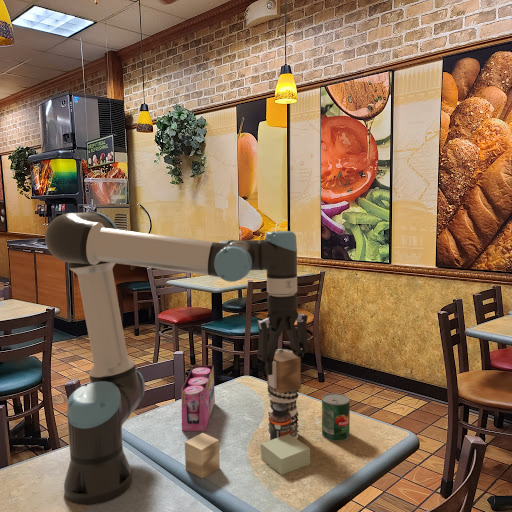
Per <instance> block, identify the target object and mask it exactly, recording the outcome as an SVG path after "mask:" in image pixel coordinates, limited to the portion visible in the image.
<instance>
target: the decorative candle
mask: <svg viewBox="0 0 512 512" xmlns="http://www.w3.org/2000/svg"><path fill="white" fill-rule="evenodd" d="M286 351H288V352H290V353H292V354H294V353H293V351H292V349H287V348H278V349H277V348H276V352H275V354H276V353H281V352H286ZM266 378H267V379H266V380H267V383H266V384H267V392H268V394H267V395H268V399H269V411H268V414H267V415H268V424H267V425H268V430H267V431H268V436H269V438H270V414H271V412H273V406H274V405H275V404H277V403H283V404H286V405H287V407H288V412H289V413H290V414H291V426H292V428H291V429H292V431H291V432H292V436H293V437H294V438H296V439H297V440H298V438H299V434H298V433H299V432H300V431H299V423H298V421H299V418H298V416H299V413H298V412H299V411H298V406H297V400H298V398H299V393H298V392H299V390H300V389H297V390H293V391H289V392H285V393H281V394H280V393H278V392H277V391H275V390H274V389H272V388H271V387H269V386H268V374H266Z"/></svg>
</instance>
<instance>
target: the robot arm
mask: <svg viewBox="0 0 512 512" xmlns="http://www.w3.org/2000/svg"><path fill="white" fill-rule="evenodd" d="M44 241H45V245H46V248H47V250H48V251H49V253H50V254H51V255H52V256H53V257H54V258H55V259H58V260H59V261H62V262H64V263H68V266H69V267H68V268H69V270H70V271H71V272H73V273H75V274H76V275H77V280H78V281H77V282H78V286H79V290H80V296H81V302H82V307H83V313H84V318H85V324H86V328H87V330H86V331H87V334H88V339H89V345H90V350H91V355H92V362H93V366H92V367H91V369H90V370H89V373H88V375H89V380H90V381H89V383H86V385H82V386H79V387H78V388H77V389H75V390H74V391H72V393H71V394H70V395H69V397H68V399H67V409H66V418H67V427H68V429H67V430H68V441H69V452H70V453H69V454H70V455H69V456H70V459H69V464H68V467H67V468H68V469H67V471H66V476H65V479H64V484H63V488H64V497H65V499H67V501H69V502H70V503H72V504H75V505H81V506H93V505H99V504H103V503H108V502H110V501H113V500H115V499H116V498H119V497H120V496H122V495H123V494H125V493H126V492H127V491H128V490H129V488H130V487H131V485H132V481H133V477H132V476H133V475H132V474H133V473H132V472H133V471H132V469H131V465H130V464H129V461H128V459H127V457H126V454H125V452H124V447H123V446H124V445H123V429H122V428H123V425H124V424H125V423H126V421H127V420H129V419H128V418H130V416H131V414H133V413H134V411H135V410H136V409H137V408H138V406H139V405H140V404H141V402H142V400H143V397H144V395H145V391H146V383H145V379H144V376H143V375H142V373H141V372H140V371H139V370H137V367H136V362H135V361H134V360H133V359H131V358H130V357H129V356H128V350H127V349H128V348H127V346H126V345H127V344H126V339H125V333H124V332H125V331H124V327H123V323H122V315H121V311H120V306H119V299H118V294H117V289H116V283H115V275H114V271H113V268H114V266H116V264H119V265H126V266H127V265H128V266H135V267H143V268H151V269H159V270H167V271H174V272H182V273H189V274H196V275H204V276H211V277H216V278H217V277H218V278H220V279H222V280H223V281H226V282H229V283H233V282H234V283H235V282H238V281H241V280H242V279H244V278H245V277H247V276H248V274H249V273H250V271H266V292H267V293H268V294H267V296H266V298H267V299H266V301H267V303H266V304H267V305H266V306H267V315H266V318H264V319H262V320H261V319H260V320H259V319H258V320H257V321H256V324H257V325H256V326H257V328H258V344H257V345H258V346H257V358H258V359H259V360H261V361H262V362H264V363H265V365H264V366H265V374H266V375H267V374H268V380H267V382H269V385H270V386H271V387H273V388H277V382H276V362H274V361H273V360H274V356H275V352H276V350H277V347H278V344H279V339H280V337H281V335H282V333H283V332H286V334H287V337H288V341H289V343H290V348H291V351H293V353H294V355H296V356H298V357H300V369H302V368H301V367H302V358H304V357H305V356H304V355H305V354H306V353H308V351H309V346H308V345H309V344H308V343H309V342H308V332H307V329H308V328H307V322H308V315H306V314H304V313H301V312H300V313H299V312H298V307H299V305H298V303H299V302H298V300H299V298H298V295H297V294H298V293H297V292H298V247H297V246H298V245H297V244H298V243H297V235H296V233H294V231H292V230H291V231H290V230H277V231H275V230H274V231H267V232H266V234H265V238H264V239H258V240H255V239H254V240H253V239H242V240H239V239H238V240H236V239H230V240H221V241H219V242H216V241H215V242H214V241H207V240H200V239H195V238H194V239H193V238H186V237H178V236H172V235H170V236H169V235H163V234H156V233H146V232H140V231H138V232H137V231H134V230H133V231H132V230H124V229H118V227H117V224H116V223H115V222H114V221H113V220H112V218H110V217H109V216H107V215H105V214H103V213H100V212H95V211H85V212H83V211H82V212H68V213H63V214H61V215H58V216H56V217H54V219H52V221H50V223H49V224H48V225H47V228H46V231H45V235H44ZM295 323H296V325H295ZM269 325H270V326H269ZM269 327H270V329H268V328H269ZM296 327H297V329H296Z"/></svg>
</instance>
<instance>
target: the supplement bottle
mask: <svg viewBox="0 0 512 512" xmlns="http://www.w3.org/2000/svg"><path fill="white" fill-rule="evenodd" d="M291 428H292V426H291V414H290V413H289V412H288V407H287V405H286V404H283V403H277V404H275V405H274V406H273V412H271V414H270V437H269V441H270V440H273V439H275V438H278V437H281V436H284V435H287V434H290V435H291V436H292V432H291V431H292V429H291Z"/></svg>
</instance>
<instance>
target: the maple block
mask: <svg viewBox="0 0 512 512" xmlns="http://www.w3.org/2000/svg"><path fill="white" fill-rule="evenodd" d="M184 459H185V470H186V471H187V472H188V473H191V474H193V475H195V476H197V477H199V478H201V479H204V478H205V477H206V476H208V475H210V474H212V473H213V472H215V471H217V470H219V469H221V468H220V467H221V465H220V462H221V461H220V440H219V439H217V438H215V437H213V436H211V435H209V434H207V433H204V432H201V433H200V434H198V435H195V436H194V437H192V438H190V439H188V440H186V441H184Z"/></svg>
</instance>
